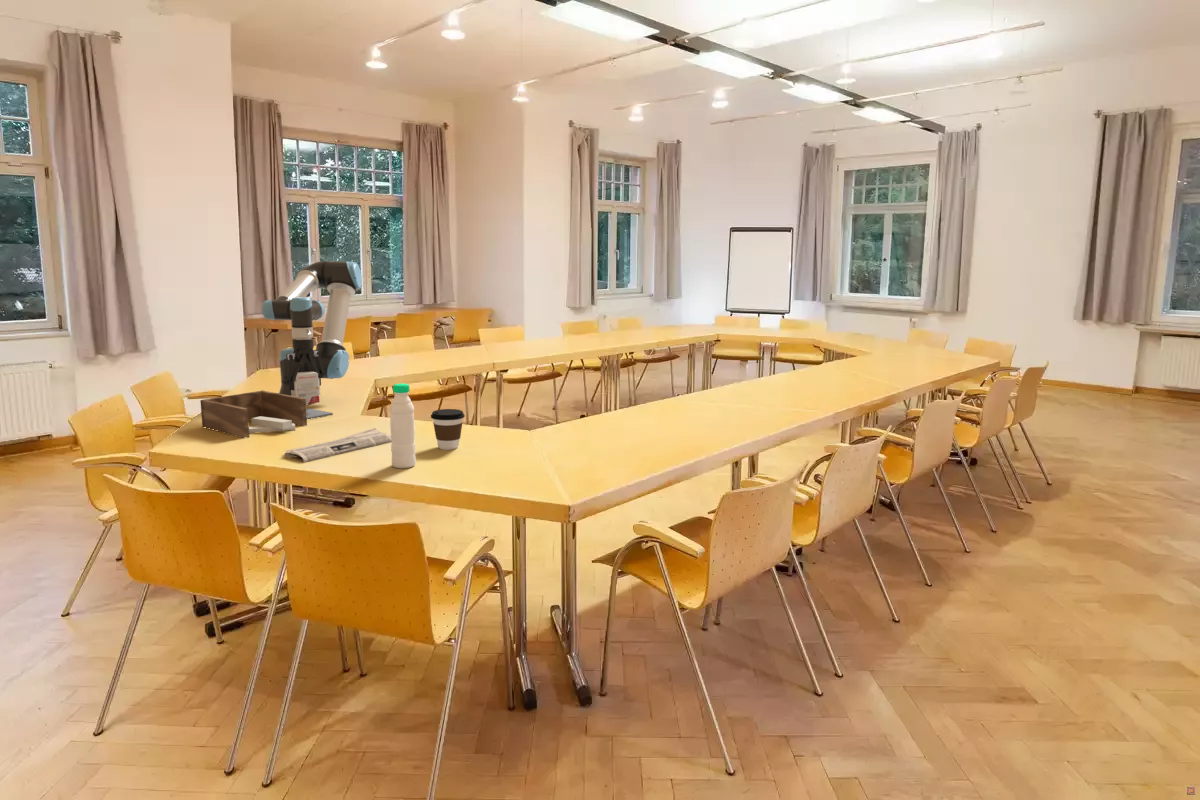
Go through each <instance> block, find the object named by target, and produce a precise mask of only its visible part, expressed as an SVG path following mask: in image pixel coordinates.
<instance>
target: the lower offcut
mask: <svg viewBox="0 0 1200 800" xmlns="http://www.w3.org/2000/svg"><path fill="white" fill-rule="evenodd" d="M281 430H291V431H296V424H294V423H292V427H290V428H286V429H278V428H271V427H264V426H256V425H251V426H249V433H253V434H256V433H255V432H266V433H271V432H270V431H278V432H282V431H281Z"/></svg>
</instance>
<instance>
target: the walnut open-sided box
mask: <svg viewBox="0 0 1200 800" xmlns="http://www.w3.org/2000/svg"><path fill="white" fill-rule="evenodd" d="M199 402H200V411H201V413H200V414H201V423H202V425H201V426H202V427H201V428H203V427H206V428H210V429H214V430H218V431H217V432H219V431H221V432H220V433H223V432H225V433H224V434H227V433H229V434H228V435H231V434H233V435H232V436H235V435H237V436H236V437H239V436H241V437H240V438H243V437H248V438H250V434H249V427H250V425H249V421H250V420H249V419H251V418H255V417H259V416H262V417H270V418H278V419H285V420H292V423H295V425H296V424H299V425H298V426H301V425H303V426H302V427H305V426H304V425H306V426H308V420H307V416H306V409H307V405H306V398H300V397H295V396H290V395H284V394H279V392H273V391H269V390H267V391H266V390H257V391H256V390H255V391H250V392H244V393H238V394H232V395H226V396H219V397H212V398H206V399H201V400H200V401H199ZM206 428H205V429H206ZM210 429H209V430H210ZM214 430H213V431H214Z"/></svg>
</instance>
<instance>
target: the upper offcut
mask: <svg viewBox="0 0 1200 800" xmlns="http://www.w3.org/2000/svg"><path fill="white" fill-rule="evenodd" d="M250 421H251V426H264V427H271V428H278V429H286V428H290V427H292V420H285V419H278V418H270V417H262V416H259V417H255V418H251V420H250Z"/></svg>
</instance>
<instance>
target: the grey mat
mask: <svg viewBox="0 0 1200 800" xmlns="http://www.w3.org/2000/svg"><path fill="white" fill-rule="evenodd" d="M332 414H334V413H333V412H330V411H325V410H319V409H314V408H309V407H308V408H306V416H307V419H310V420H312V419H311V418H315V419H318V418H317V417H320V418H323V417H322V416H325V417H328V416H327V415H330V416H333V415H332Z"/></svg>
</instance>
